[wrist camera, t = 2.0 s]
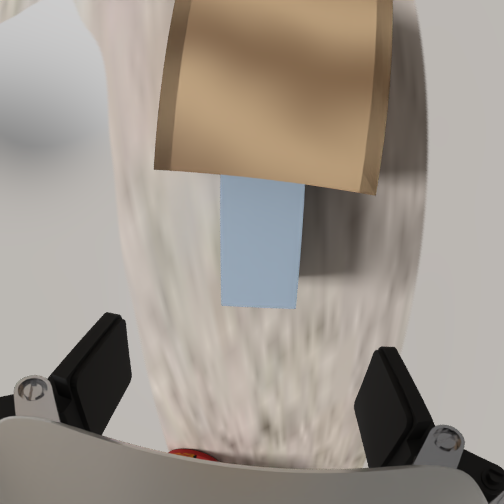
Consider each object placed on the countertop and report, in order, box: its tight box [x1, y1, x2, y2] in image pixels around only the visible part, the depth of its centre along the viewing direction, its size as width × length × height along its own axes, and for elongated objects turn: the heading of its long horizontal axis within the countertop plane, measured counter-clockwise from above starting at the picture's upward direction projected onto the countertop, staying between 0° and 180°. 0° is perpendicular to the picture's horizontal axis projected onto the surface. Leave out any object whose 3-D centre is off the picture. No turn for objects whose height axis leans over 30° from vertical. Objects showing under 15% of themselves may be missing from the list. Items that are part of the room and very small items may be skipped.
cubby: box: [154, 0, 393, 196], centre depth 15 cm, size 12×10×8 cm
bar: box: [220, 175, 305, 309], centre depth 20 cm, size 12×4×5 cm, turn 179°
